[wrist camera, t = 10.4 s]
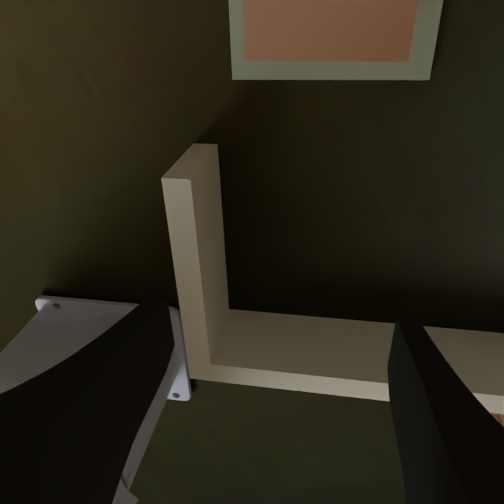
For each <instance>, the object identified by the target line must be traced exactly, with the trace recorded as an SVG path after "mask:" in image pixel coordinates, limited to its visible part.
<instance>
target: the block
mask: <svg viewBox="0 0 504 504" xmlns="http://www.w3.org/2000/svg"><path fill="white" fill-rule="evenodd" d="M417 4H418V0H243V11H244V55H245V61H356V62H408V61H409V55H410V49H411V42H412V36H413V30H414V23H415V17H416V11H417Z"/></svg>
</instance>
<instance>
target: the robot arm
mask: <svg viewBox="0 0 504 504" xmlns="http://www.w3.org/2000/svg"><path fill="white" fill-rule="evenodd" d="M35 303H36V306H37V309H38V313H37V314H36V315H35V316H34V317H33V318H32V319H31V320H30V321H29V322H28V323H27V324H26V326H25V327H24V328H23V329H22V330H21V331H20V332H19V333H18V334H17V335H16V336H15V337H14V339H13V340H12V341H11V342H10V343H9V344H8V345H7V346H6V347H5V348H4V349H3V350H2V352H1V353H0V504H137V501H138V499H137V498H136V497H135V496H134V495H132V494H131V493H130V492H129V488H130V486H131V484H132V481H133V479H134V476H135V474H136V472H137V469H138V467H139V465H140V462H141V460H142V457H143V455H144V453H145V450H146V448H147V445H148V443H149V441H150V438H151V436H152V433H153V431H154V429H155V426H156V424H157V421H158V419H159V417H160V414H161V412H162V409H163V407H164V405H165V402H166V400H167V399H174V400H182V401H187V400H189V399H190V398H191V395H192V392H191V385H190V378H189V371H188V364H187V357H186V350H185V343H184V336H183V329H182V322H181V315H180V312H179V310H178V309H176V308H175V307H169V304H168V298H167V297H156V296H149V297H148V298H146V299H145V300H144V301H143V302H141V303H140V304H135V303H123V302H112V301H101V300H89V299H78V298H67V297H55V296H44V295H43V296H39V297H38V298H37V299H36V301H35ZM58 304H59V305H58ZM387 371H388V388H389V399H390V405H391V411H392V416H393V422H394V427H395V433H396V438H397V443H398V449H399V454H400V459H401V465H402V471H403V478H404V486H405V498H406V504H504V427H503V426H502V425H501V424H500V423H499V422H498V421H497V420H496V419H495V418H494V417H493V416H492V415H491V414H490V413H489V411H488V410H487V409H486V408H485V407H484V406H483V405H482V404H481V403H480V402H479V400H478V399H477V398H476V397H475V396H474V395H473V393H472V392H471V391H470V390H469V389H468V388H467V386H466V385H465V384H464V383H463V381H462V380H461V379H460V378H459V376H458V375H457V374H456V372H455V371H454V370H453V368H452V367H451V366H450V364H449V363H448V362H447V361H446V359H445V358H444V356H443V355H442V354H441V352H440V351H439V349H438V348H437V346H436V345H435V343H434V342H433V340H432V339H431V337H430V336H429V334H428V333H427V331H426V330H425V328H424V327H423V325H422V323H421V322H420V321H419V320H418V319H415V318H403V317H396V322H395V327H394V333H393V338H392V343H391V349H390V354H389V360H388V365H387Z"/></svg>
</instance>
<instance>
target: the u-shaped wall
mask: <svg viewBox="0 0 504 504" xmlns="http://www.w3.org/2000/svg"><path fill="white" fill-rule="evenodd" d="M161 180H162V187H163V194H164V201H165V208H166V215H167V222H168V229H169V236H170V243H171V250H172V257H173V264H174V271H175V278H176V285H177V292H178V299H179V306H180V313H181V320H182V327H183V334H184V341H185V348H186V355H187V362H188V369H189V376H190V378H191V379H200V380H208V381H217V382H226V383H235V384H243V385H252V386H261V387H269V388H278V389H287V390H296V391H304V392H313V393H322V394H330V395H339V396H348V397H357V398H365V399H374V400H383V401H390V399H389V388H388V371H387V365H388V360H389V354H390V349H391V343H392V338H393V333H394V327H395V324H394V323H382V322H371V321H360V320H348V319H337V318H325V317H314V316H302V315H291V314H279V313H268V312H256V311H245V310H234V309H229V302H228V287H227V273H226V258H225V244H224V229H223V215H222V200H221V186H220V171H219V157H218V144H198V143H193V144H192V145H191V146H190V148H189V149H188V150H187V151H186V152H185V153H184V154H183V155H182V156H181V157H180V158H179V159H178V161H177V162H176V163H175V164H174V165H173V166H172V167H171V168H170V169H169V170H168V171H167V172H166V174H165V175H164V176H163V177H162V178H161ZM423 327H424V328H425V330H426V331H427V333H428V334H429V336H430V337H431V339H432V340H433V342H434V343H435V345H436V346H437V348H438V349H439V351H440V352H441V354H442V355H443V356H444V358H445V359H446V361H447V362H448V363H449V364H450V366H451V367H452V368H453V370H454V371H455V372H456V374H457V375H458V376H459V378H460V379H461V380H462V381H463V383H464V384H465V385H466V386H467V388H468V389H469V390H470V391H471V392H472V393H473V395H474V396H475V397H476V398H477V399H478V400H479V402H480V403H481V404H482V405H483V406H484V407H485V408H486V409H487V410H488V411H489V413H496V414H504V333H497V332H486V331H474V330H463V329H451V328H440V327H428V326H423Z"/></svg>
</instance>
